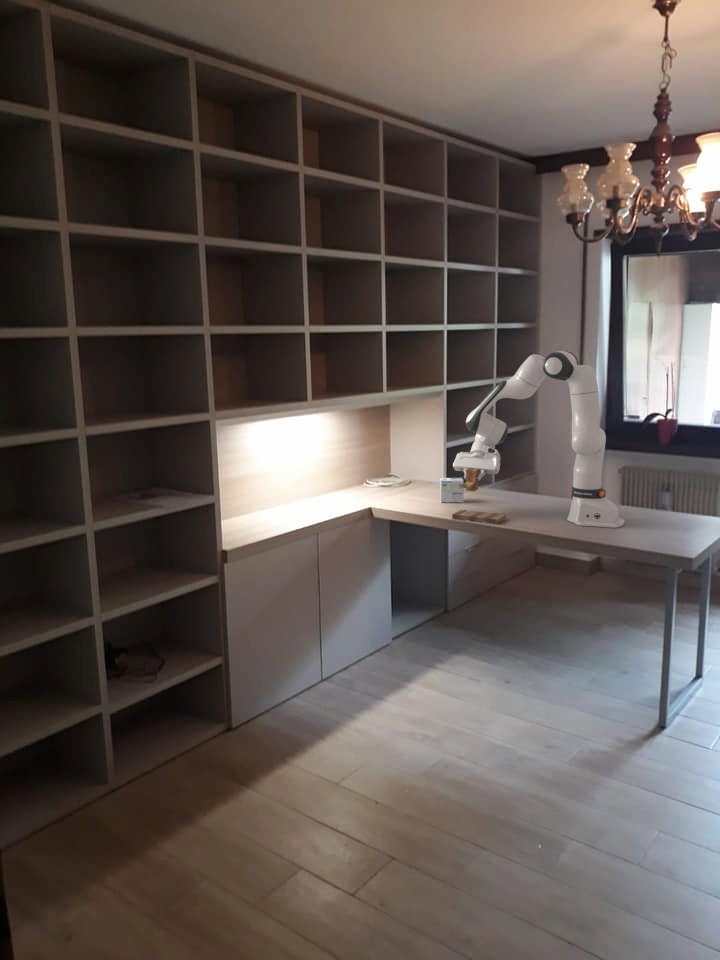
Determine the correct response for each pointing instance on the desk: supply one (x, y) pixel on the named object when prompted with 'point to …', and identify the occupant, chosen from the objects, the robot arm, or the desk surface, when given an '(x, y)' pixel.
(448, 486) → the light bulb box
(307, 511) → the desk surface
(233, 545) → the desk surface
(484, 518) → the plank
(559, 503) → the desk surface
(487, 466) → the robot arm
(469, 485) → the brown l-shaped block
